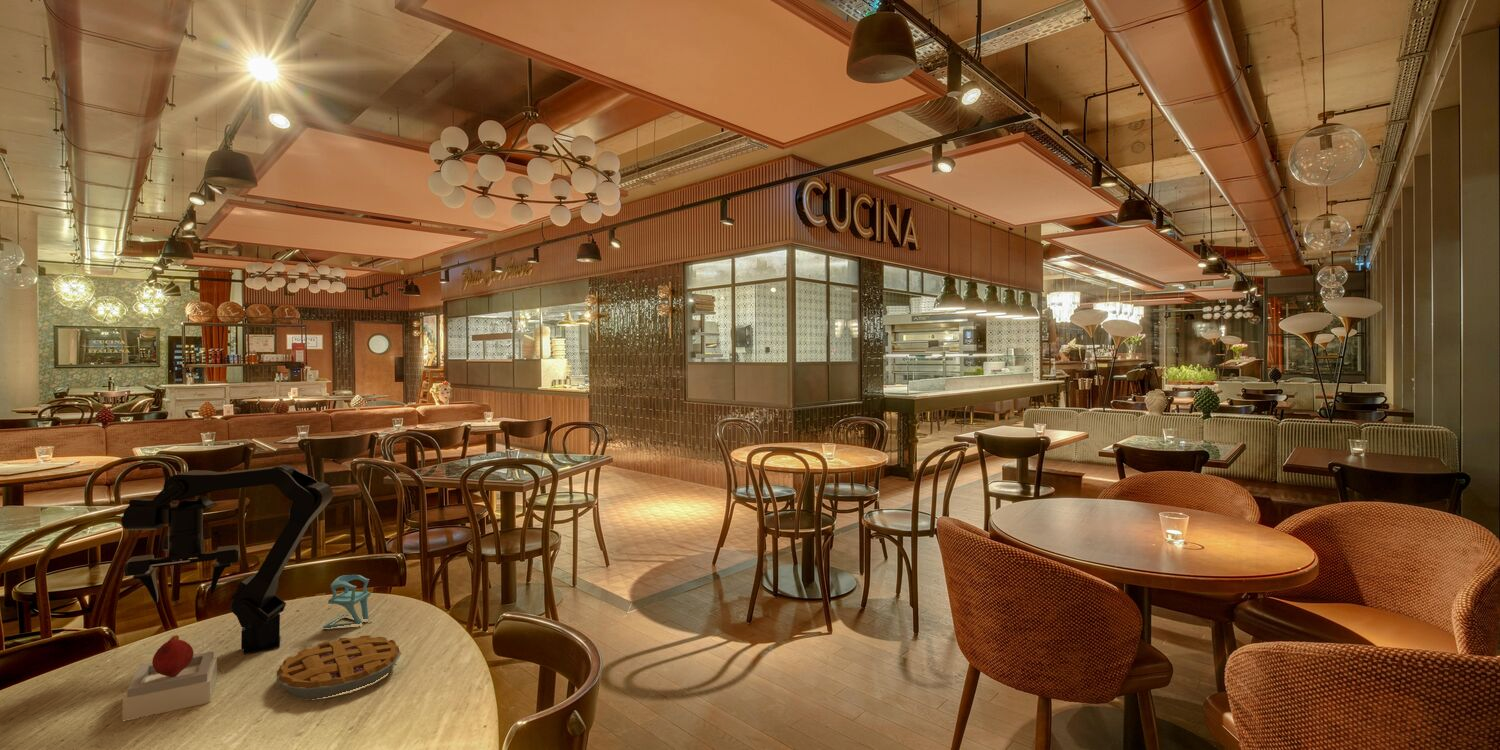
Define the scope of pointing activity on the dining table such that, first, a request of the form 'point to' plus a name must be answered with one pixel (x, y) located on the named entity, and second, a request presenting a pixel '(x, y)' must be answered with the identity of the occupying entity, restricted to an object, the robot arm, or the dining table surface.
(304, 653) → the pie
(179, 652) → the onion
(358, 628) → the dining table surface
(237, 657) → the dining table surface
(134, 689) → the display pedestal
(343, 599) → the chair
